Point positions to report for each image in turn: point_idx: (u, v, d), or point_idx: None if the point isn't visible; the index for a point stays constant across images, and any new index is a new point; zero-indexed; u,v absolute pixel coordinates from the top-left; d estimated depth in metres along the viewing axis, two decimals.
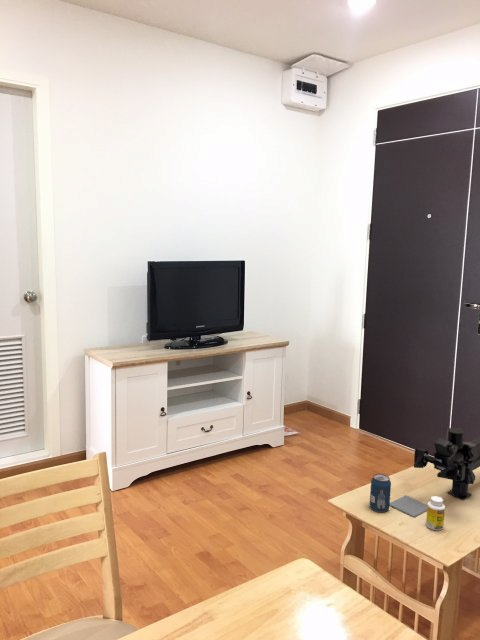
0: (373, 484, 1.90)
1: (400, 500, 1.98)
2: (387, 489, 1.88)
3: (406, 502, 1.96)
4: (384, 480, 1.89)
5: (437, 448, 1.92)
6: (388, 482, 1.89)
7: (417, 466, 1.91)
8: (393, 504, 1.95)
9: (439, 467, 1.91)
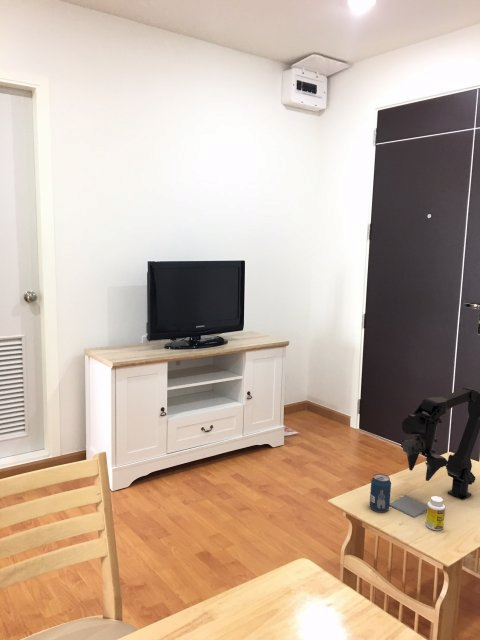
0: (373, 484, 1.90)
1: (400, 500, 1.98)
2: (387, 489, 1.88)
3: (406, 502, 1.96)
4: (384, 480, 1.89)
5: None
6: (388, 482, 1.89)
7: (413, 465, 1.97)
8: (393, 504, 1.95)
9: None
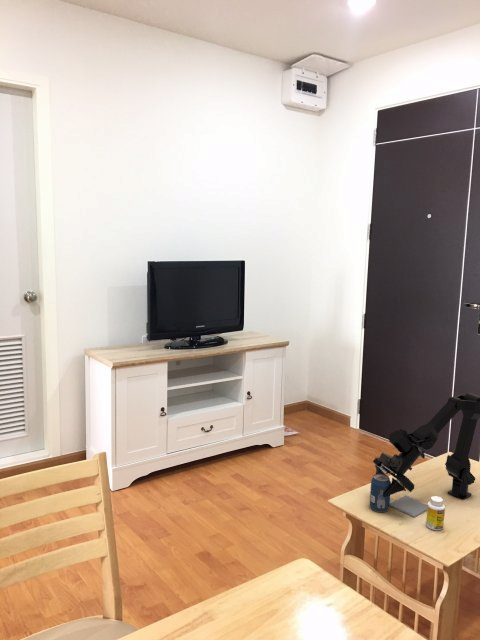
0: (373, 484, 1.90)
1: (400, 500, 1.98)
2: None
3: (406, 502, 1.96)
4: (384, 480, 1.89)
5: None
6: (388, 482, 1.89)
7: None
8: (393, 504, 1.95)
9: None
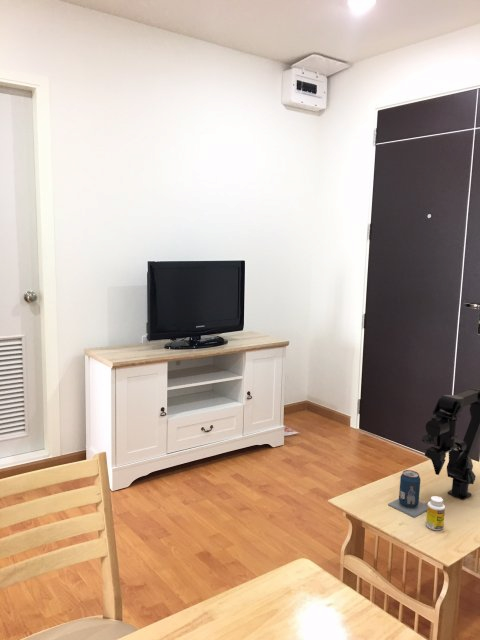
0: (403, 480, 1.92)
1: None
2: (417, 485, 1.90)
3: None
4: (414, 476, 1.91)
5: None
6: (418, 478, 1.91)
7: (452, 463, 1.96)
8: (393, 504, 1.95)
9: (448, 450, 1.92)
